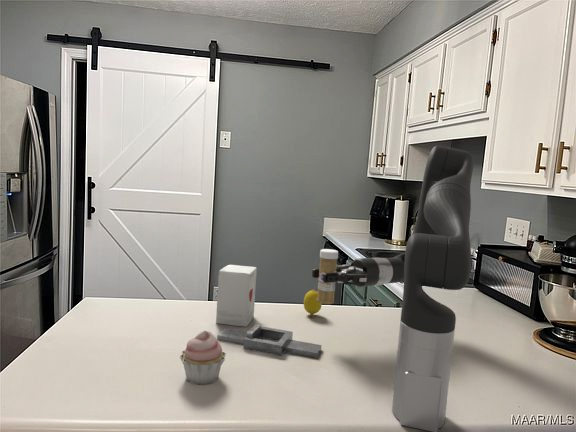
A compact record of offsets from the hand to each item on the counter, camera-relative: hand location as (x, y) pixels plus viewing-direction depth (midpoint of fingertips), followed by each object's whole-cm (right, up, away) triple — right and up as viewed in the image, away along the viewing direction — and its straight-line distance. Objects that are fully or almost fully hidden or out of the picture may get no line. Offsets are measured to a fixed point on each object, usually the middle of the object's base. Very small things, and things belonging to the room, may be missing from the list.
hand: (318, 275), depth 104 cm
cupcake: (-25, -18, -19) cm, 36 cm away
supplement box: (-23, -15, +14) cm, 30 cm away
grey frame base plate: (-12, -17, -1) cm, 21 cm away
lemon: (0, -15, +22) cm, 27 cm away
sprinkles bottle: (+2, -7, +2) cm, 8 cm away
